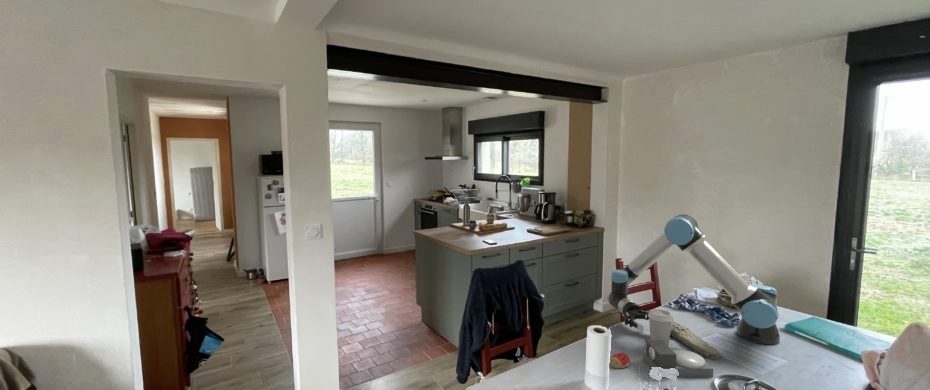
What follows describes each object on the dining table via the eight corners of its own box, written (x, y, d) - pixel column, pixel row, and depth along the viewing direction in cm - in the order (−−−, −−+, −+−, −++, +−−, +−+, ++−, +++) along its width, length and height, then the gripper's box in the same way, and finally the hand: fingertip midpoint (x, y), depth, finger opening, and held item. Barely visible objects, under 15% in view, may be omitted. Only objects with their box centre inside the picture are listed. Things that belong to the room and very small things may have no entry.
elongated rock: (704, 364, 149) (726, 363, 151) (706, 352, 149) (728, 351, 150) (649, 323, 184) (668, 322, 185) (650, 312, 183) (669, 312, 184)
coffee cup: (675, 353, 155) (676, 317, 154) (650, 351, 157) (651, 316, 156) (668, 342, 164) (669, 308, 163) (644, 340, 166) (645, 307, 165)
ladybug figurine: (605, 365, 148) (605, 356, 147) (617, 356, 154) (617, 348, 154) (621, 372, 142) (621, 363, 142) (634, 362, 149) (634, 354, 149)
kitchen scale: (694, 359, 150) (695, 339, 150) (713, 376, 138) (714, 355, 138) (642, 359, 151) (643, 339, 150) (656, 376, 139) (657, 355, 138)
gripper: (653, 314, 184) (684, 334, 163) (604, 318, 181) (629, 338, 160) (654, 299, 183) (685, 317, 162) (605, 303, 180) (630, 321, 159)
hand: (657, 328), depth 161 cm, fingers open, 13 cm apart
